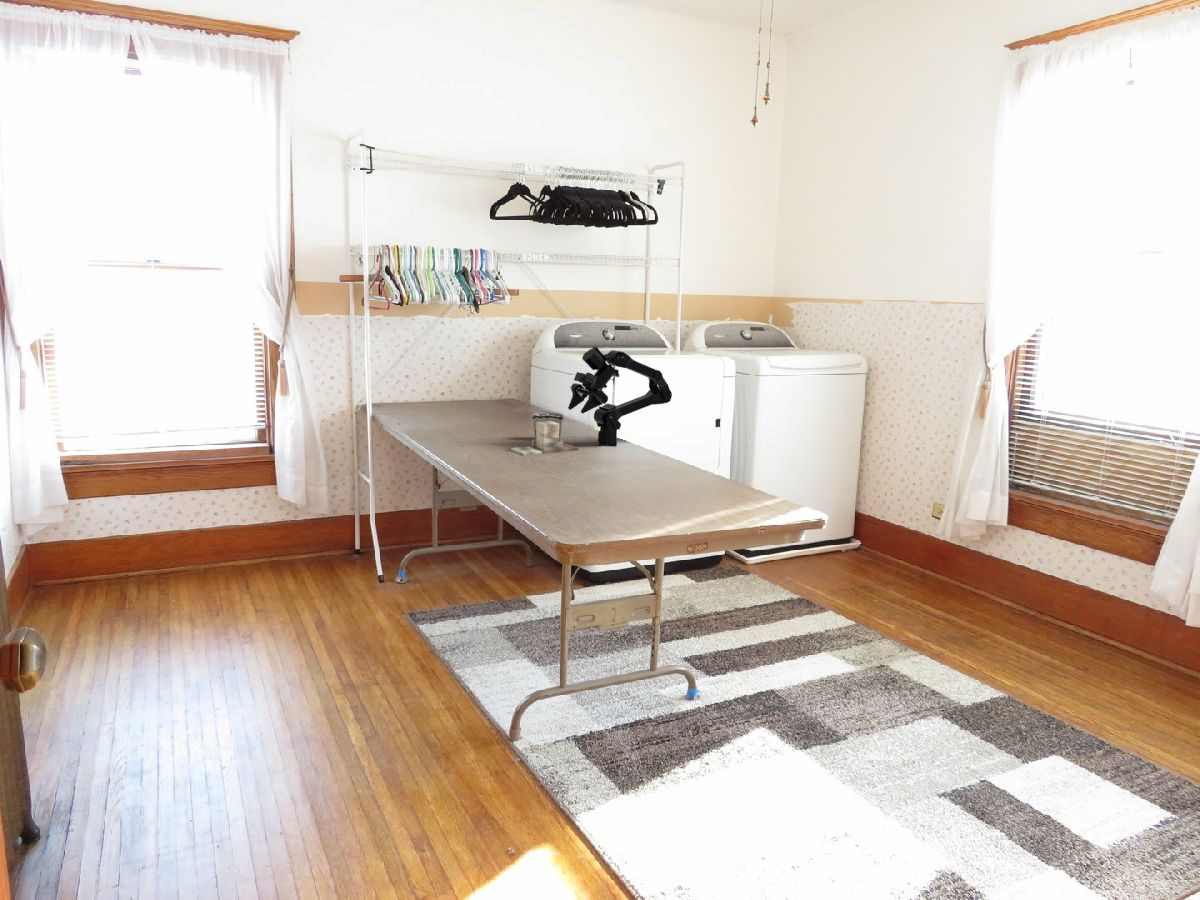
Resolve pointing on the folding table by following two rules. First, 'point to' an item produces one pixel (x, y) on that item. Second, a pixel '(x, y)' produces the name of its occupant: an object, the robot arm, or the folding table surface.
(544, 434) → the block
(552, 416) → the food container
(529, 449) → the chute
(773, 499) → the folding table surface
